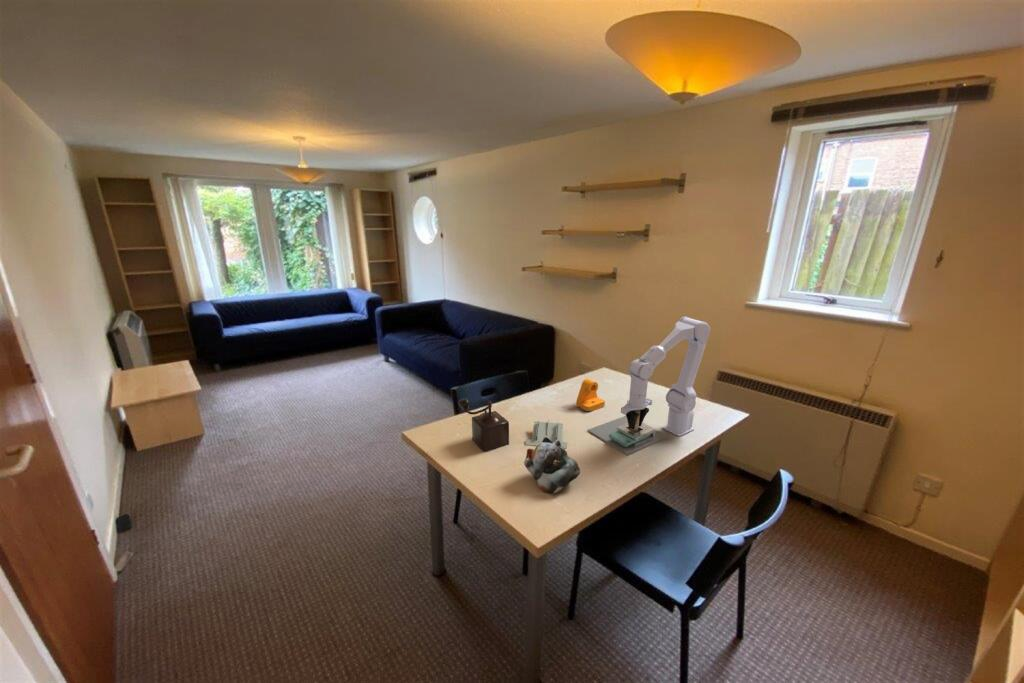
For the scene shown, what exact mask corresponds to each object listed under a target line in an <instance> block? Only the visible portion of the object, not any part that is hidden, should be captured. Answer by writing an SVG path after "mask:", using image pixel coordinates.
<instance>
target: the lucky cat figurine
mask: <svg viewBox="0 0 1024 683" xmlns="http://www.w3.org/2000/svg"><path fill="white" fill-rule="evenodd" d="M523 464H524V467H525V468H526V469H527V471H528V472H529V473H530V475H531V476H532V478H534V480H535V481H536V482H537V484H538V487H539V489H540V490H541V491H542V492H543V493H544V492H545V493H548V494H551V495H552V494H557V493H559V492H560V491H561V490H563V489H564V487H565V486H567V485H568V484H569V483H571V482H572V481H574V480H575V479H577V478H578V477H579V475H580V474H581V470H580V469H581V468H580V467H579V464H578V462H577V461H576V460H575V459H574V458H572V457H571V456H569V455H568V452H567V449H564V448H563V447H562V446H561V443H560V441H559V440H556V441H555V442H552V441H551V440H550V439H548V438H547V437H545V438H544V439H543V441H542V443H540V444H539V445H538V446H535V448H528V449H526V456H525V460H524V461H523Z"/></svg>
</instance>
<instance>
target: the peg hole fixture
mask: <svg viewBox="0 0 1024 683" xmlns="http://www.w3.org/2000/svg"><path fill="white" fill-rule="evenodd" d="M617 430H618V431H616V432H613V433H611V434H609V438H611V439H613V440H614V441H616V442H618V443H620V444H621V445H623V446H625V447H627V446H629V445H632V446H633V447H637V446H639V445H642V444H644V443H646V442H649V441H651V440H653V439H655V431H656V428H654V427H653V426H650V425H648V424H646V423H644V422H642V425H641V426H640V427H639V430H638V432H636V433H635V432H633V431H631V430H630V428H629V425H628V423H626V424H623V425H620V426H618V427H617Z"/></svg>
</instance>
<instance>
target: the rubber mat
mask: <svg viewBox="0 0 1024 683" xmlns="http://www.w3.org/2000/svg"><path fill="white" fill-rule="evenodd" d="M626 423H628V420H627V417H626V415H623V416H621V417H619V418H615V419H613V420H610V421H607V422H604V423H603V424H600V425H596V426H594V427H591V428H588V429H587V432H588V433H590V434H592V435H593V436H595V437H597V438H598V439H600V440H601V441H603V442H604V443H606V444H608V445H609V446H611V447H613V448H615V449H616V450H617V451H619V452H621V453H622V454H624V455H626V456H630V455H632V454H635V453H636V452H638V451H639V452H640V451H641V450H643V449H646V448H648V447H650V446H652V445H655V444H657V443H659V442H661V441H663V440H666V439H668V438H669V435H667V434H664V433H663V432H661V431H659V430H656V431H655V439H653V440H651V441H649V442H646V443H644V444H642V445H639V446H637V447H633V446H632V445H629V446H627V447H625V446H623V445H621V444H620V443H618V442H616V441H614V440H613V439H611V438H609V434H611V433H613V432H616V431H618V430H617V427H618V426H620V425H623V424H626Z"/></svg>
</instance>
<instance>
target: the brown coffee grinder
mask: <svg viewBox="0 0 1024 683" xmlns="http://www.w3.org/2000/svg"><path fill="white" fill-rule="evenodd" d="M469 404H470V400H469V399H468V398H465V397H462V398H461V399H460V400H458V406H459V407H460V408H461V411H462V412H463V413H467V414H469V415H475V416H472V417H471V430H472V431H471V436H472V437H471V440H472V442H473V443H474V444H475V445H476V446H477V447H478V448H479V449H480V450H481V451H482V452H484V453H487V452H491V451H494V450H498V449H500V448H503V447H505V446H508V445H510V423H509V420H508V419H506V418H505V417H504V416H502V415H501V414H500V413H498V411H496V410H495V411H492V407H493V405H492V401H491V400H489V401H488V402H487V406H485V407H484V408H482V409H480V410H477V411H470V409H471V408H470V407H469ZM487 410H488V411H487ZM478 414H479V415H478Z"/></svg>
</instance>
